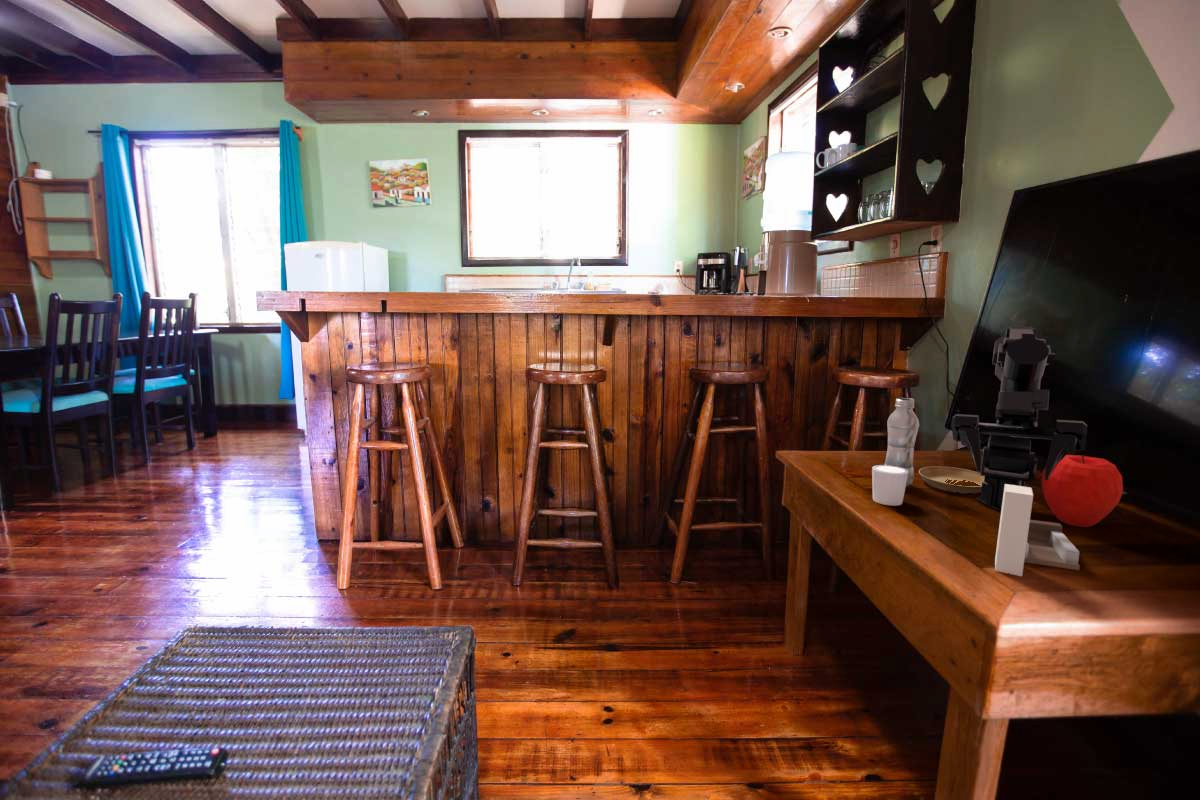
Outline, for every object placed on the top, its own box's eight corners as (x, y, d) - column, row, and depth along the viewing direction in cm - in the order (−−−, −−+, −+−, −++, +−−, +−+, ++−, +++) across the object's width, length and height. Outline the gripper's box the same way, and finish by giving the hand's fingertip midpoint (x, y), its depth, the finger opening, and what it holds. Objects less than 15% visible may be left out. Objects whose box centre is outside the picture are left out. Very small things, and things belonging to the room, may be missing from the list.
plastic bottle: (902, 480, 135) (910, 396, 131) (919, 489, 128) (928, 401, 125) (875, 480, 135) (883, 396, 131) (891, 490, 128) (899, 401, 124)
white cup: (862, 497, 123) (864, 466, 122) (886, 493, 125) (889, 463, 124) (888, 508, 117) (891, 475, 115) (913, 504, 119) (916, 471, 118)
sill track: (999, 537, 102) (1001, 516, 102) (1058, 545, 99) (1061, 523, 98) (1013, 560, 93) (1016, 537, 93) (1079, 570, 90) (1082, 546, 89)
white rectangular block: (994, 560, 93) (1004, 483, 91) (1020, 565, 92) (1031, 487, 89) (995, 570, 90) (1005, 491, 88) (1022, 576, 88) (1033, 495, 86)
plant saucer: (1006, 499, 123) (1008, 487, 122) (932, 495, 125) (933, 484, 125) (973, 478, 137) (975, 467, 137) (908, 475, 139) (909, 464, 139)
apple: (1095, 515, 113) (1105, 449, 111) (1132, 538, 102) (1144, 466, 100) (1026, 509, 116) (1034, 445, 114) (1054, 531, 105) (1064, 461, 103)
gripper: (954, 370, 103) (942, 446, 96) (1091, 372, 91) (1087, 458, 85) (959, 404, 110) (948, 476, 104) (1086, 410, 98) (1083, 491, 92)
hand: (1011, 475), depth 96 cm, fingers open, 9 cm apart
